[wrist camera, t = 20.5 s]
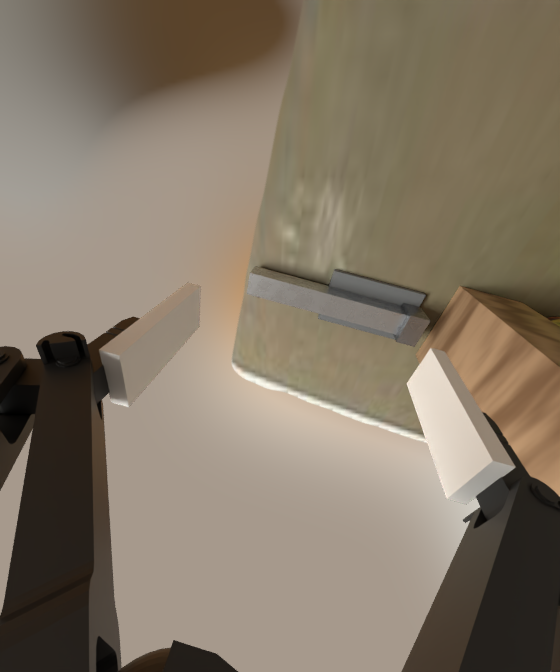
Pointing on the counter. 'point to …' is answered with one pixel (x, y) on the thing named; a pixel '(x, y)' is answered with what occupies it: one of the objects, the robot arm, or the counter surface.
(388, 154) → the counter surface
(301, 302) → the pin
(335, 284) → the base plate
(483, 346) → the brown wooden block
